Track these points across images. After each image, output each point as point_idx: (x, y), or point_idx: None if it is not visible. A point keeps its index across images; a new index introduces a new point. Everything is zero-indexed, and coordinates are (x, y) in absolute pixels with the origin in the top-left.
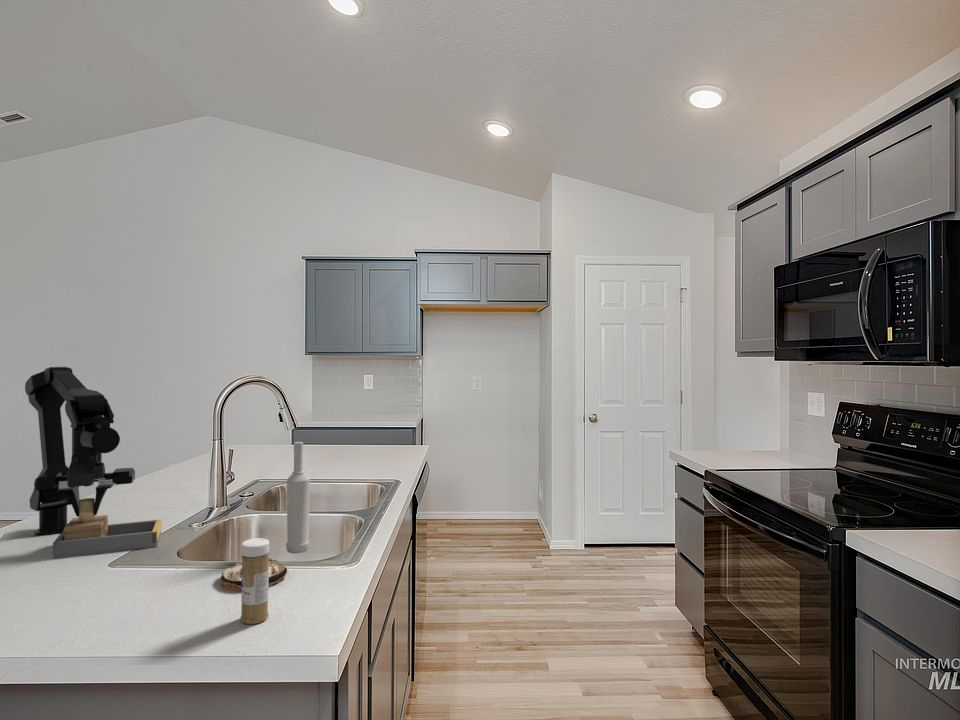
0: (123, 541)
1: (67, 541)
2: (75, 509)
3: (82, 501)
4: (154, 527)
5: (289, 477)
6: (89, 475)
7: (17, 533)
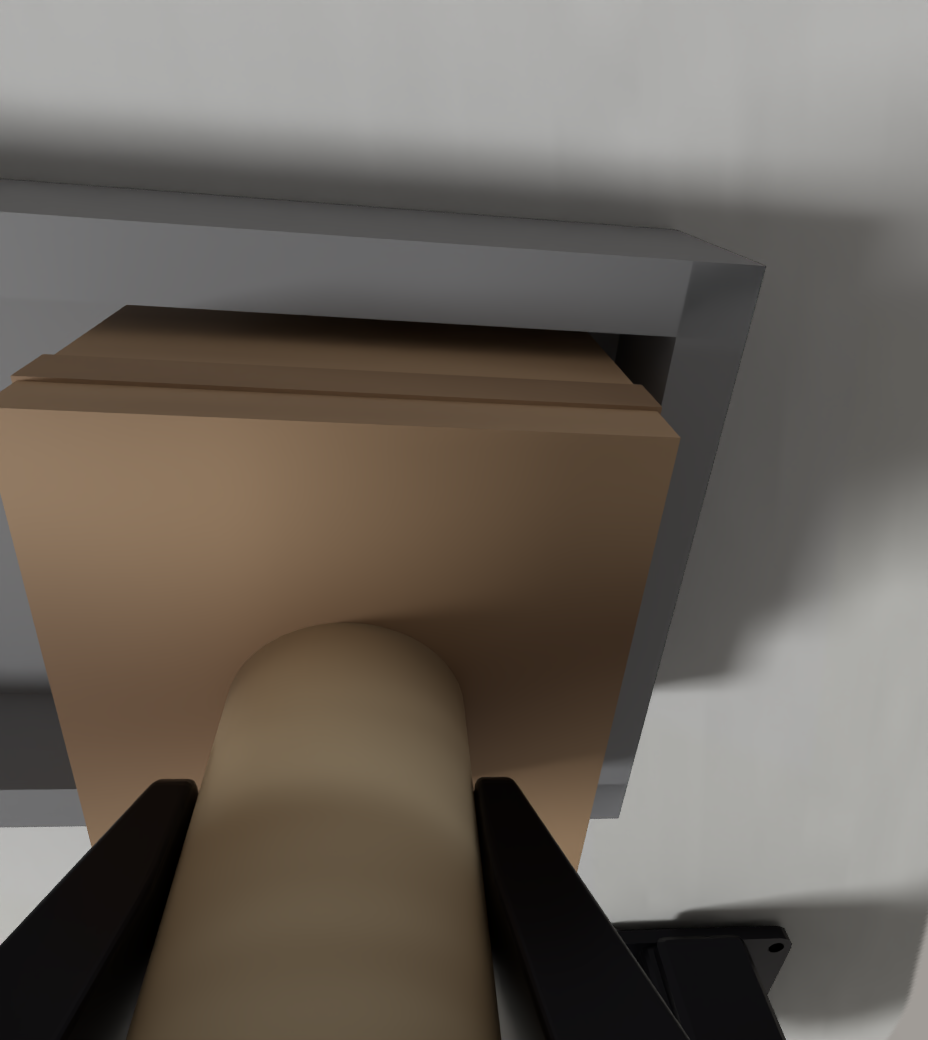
0: None
1: (568, 250)
2: (561, 905)
3: None
4: None
5: None
6: None
7: (867, 984)
